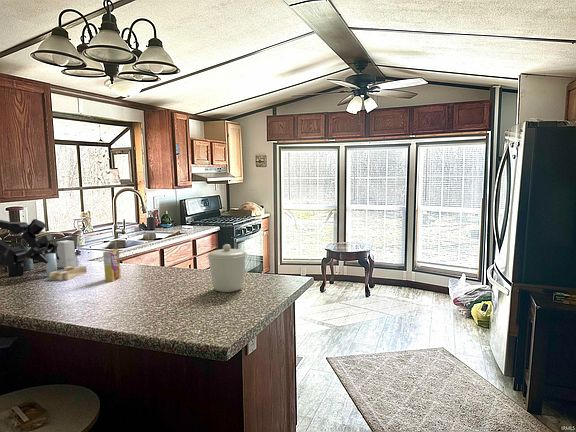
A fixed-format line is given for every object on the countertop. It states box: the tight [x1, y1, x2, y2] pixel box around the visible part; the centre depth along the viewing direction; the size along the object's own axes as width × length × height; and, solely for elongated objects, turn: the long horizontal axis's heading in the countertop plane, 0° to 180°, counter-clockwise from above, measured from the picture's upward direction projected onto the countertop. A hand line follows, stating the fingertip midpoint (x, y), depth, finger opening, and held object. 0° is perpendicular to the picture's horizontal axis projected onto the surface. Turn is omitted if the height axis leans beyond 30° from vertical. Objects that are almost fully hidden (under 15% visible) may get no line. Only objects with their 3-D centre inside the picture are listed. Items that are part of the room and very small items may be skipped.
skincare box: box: [55, 239, 77, 269], centre depth 236 cm, size 8×7×16 cm
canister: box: [206, 243, 248, 293], centre depth 184 cm, size 18×18×21 cm
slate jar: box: [44, 253, 58, 278], centre depth 215 cm, size 5×5×12 cm
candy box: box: [102, 248, 122, 283], centre depth 205 cm, size 9×4×15 cm, turn 177°
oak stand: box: [49, 265, 88, 281], centre depth 214 cm, size 10×16×4 cm, turn 174°
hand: (53, 261), depth 215 cm, fingers open, 9 cm apart
